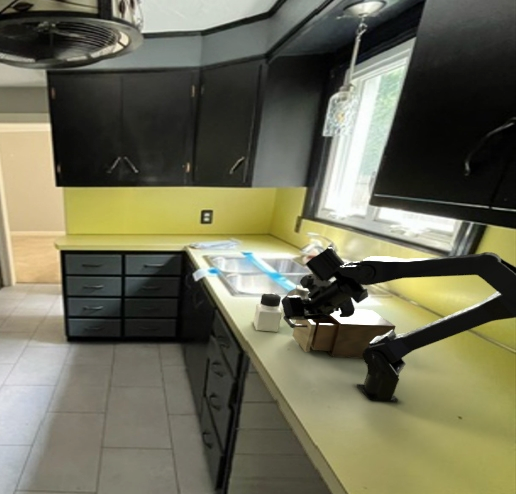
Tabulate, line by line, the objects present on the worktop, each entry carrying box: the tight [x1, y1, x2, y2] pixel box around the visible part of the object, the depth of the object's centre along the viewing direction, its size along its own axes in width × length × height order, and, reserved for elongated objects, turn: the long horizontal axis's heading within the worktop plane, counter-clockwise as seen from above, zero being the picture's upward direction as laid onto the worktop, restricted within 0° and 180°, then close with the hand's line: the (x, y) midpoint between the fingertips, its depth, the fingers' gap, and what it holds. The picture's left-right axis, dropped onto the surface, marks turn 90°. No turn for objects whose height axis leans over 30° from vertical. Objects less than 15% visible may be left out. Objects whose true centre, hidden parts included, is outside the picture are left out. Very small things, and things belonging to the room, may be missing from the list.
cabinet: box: [326, 308, 397, 359], centre depth 110 cm, size 15×13×11 cm
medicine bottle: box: [253, 292, 283, 333], centre depth 124 cm, size 7×7×12 cm
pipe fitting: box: [286, 284, 310, 299], centre depth 139 cm, size 12×8×10 cm
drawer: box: [282, 315, 339, 353], centre depth 111 cm, size 18×11×9 cm, turn 84°
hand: (300, 318), depth 105 cm, fingers closed
